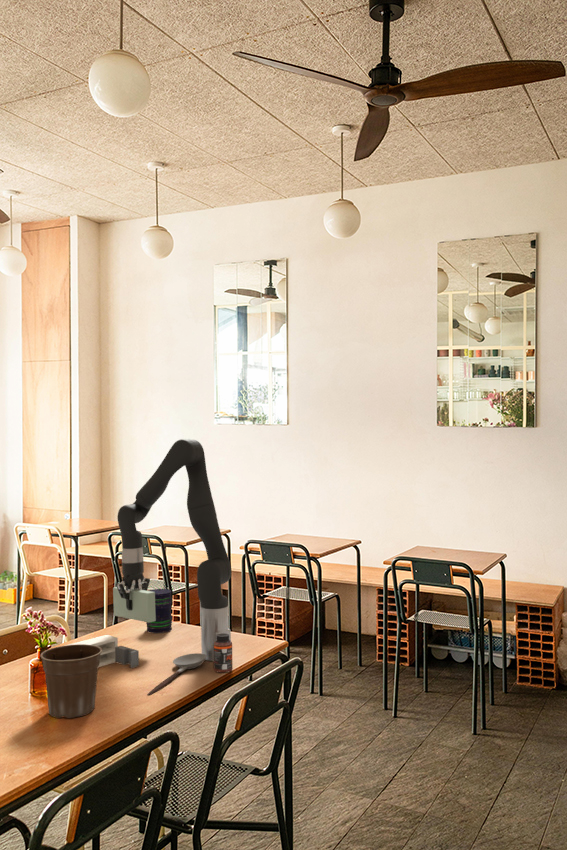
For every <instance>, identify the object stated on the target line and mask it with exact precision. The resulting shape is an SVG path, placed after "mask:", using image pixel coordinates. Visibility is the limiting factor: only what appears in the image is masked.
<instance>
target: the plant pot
mask: <svg viewBox="0 0 567 850" xmlns="http://www.w3.org/2000/svg"><path fill="white" fill-rule="evenodd" d="M101 653H102V649H101V648H100V647H98V646H94V645H86V644H77V645H69V644H66V646H65V645H60V646H57V647H56V646H54V647H52V648H48V649H47V650H44V651H42V652H41V653H40V659H41V660H42V668H43V669H42V670H43V671H44V676H45V687H46V697H47V707H48V709H47V711H48V715H50V716H51V717H53V718H57V719H62V718H63V717H64V718H66V719H72V718H81V717H83V716H86V715H88V714H91V713H92V712H93V710H94V709H95V707H96V706H95V705H96V704H95V703H96V695H97V694H96V693H97V682H98V681H97V679H98V669H99V667H98V666H99V661H100V654H101Z"/></svg>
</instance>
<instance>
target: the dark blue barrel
mask: <svg viewBox="0 0 567 850" xmlns="http://www.w3.org/2000/svg"><path fill="white" fill-rule="evenodd" d="M148 591H151V592H155V614H156V621H153V622H150V623H148V622H145V623H146V632H147V633H150V634H159V633H160V634H164V633H168V632H171V631H172V625H173V624H172V623H173V619H172V617H173V616H172V597H173V596H172V590H171V589H169V588H153V589H149V590H148Z"/></svg>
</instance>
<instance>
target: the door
mask: <svg viewBox="0 0 567 850" xmlns="http://www.w3.org/2000/svg"><path fill="white" fill-rule="evenodd" d="M124 589H125V588H124ZM129 591H130V590H129ZM112 597H113V598H112V599H113V600H112V601H113V616H115V617H119V618H124V619H130V620H133V621H140V622H144V623H146V622H148V623H150V622H153V621H156V614H155V592H151V591H149V590H147V591H145V590H138V589H134V591H133V593H132V608H133V609H132V610H131V611H130V610H127V608H126V599H123V598H121V596H120V594H119V591H118V589H117V587H116V586H114V587H113V588H112Z"/></svg>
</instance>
